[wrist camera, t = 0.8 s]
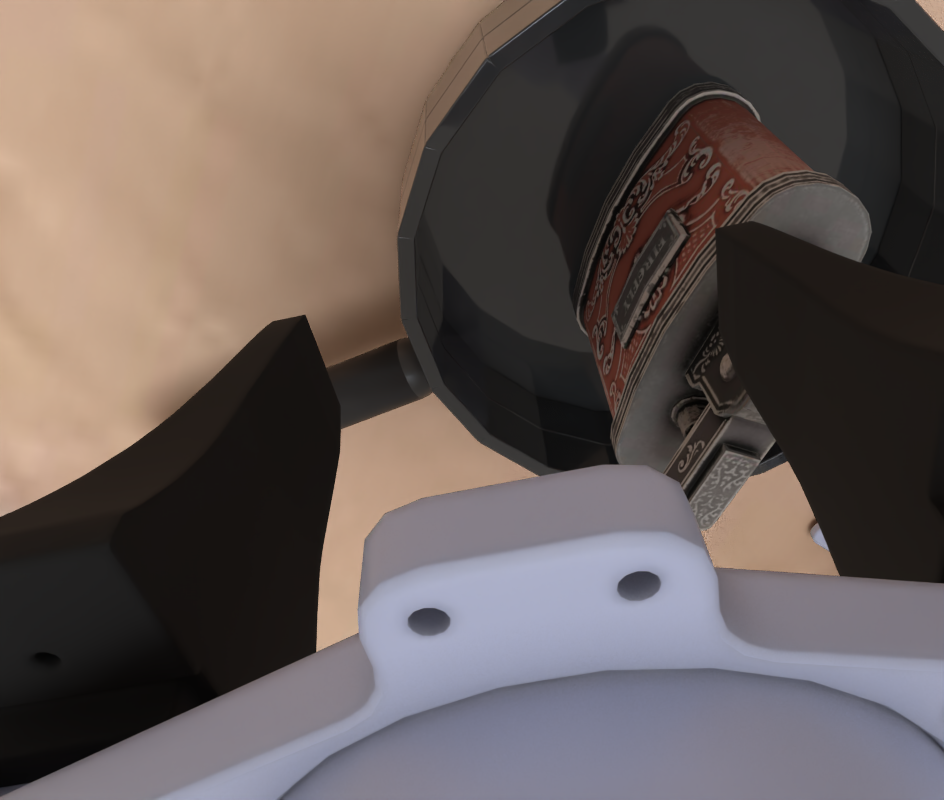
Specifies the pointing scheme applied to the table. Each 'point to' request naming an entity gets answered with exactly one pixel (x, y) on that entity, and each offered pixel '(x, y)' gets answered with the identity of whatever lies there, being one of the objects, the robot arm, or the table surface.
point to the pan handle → (378, 382)
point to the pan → (600, 163)
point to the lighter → (694, 285)
